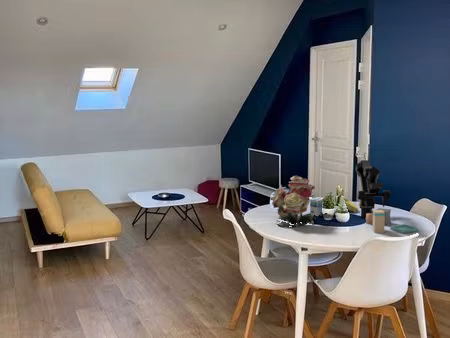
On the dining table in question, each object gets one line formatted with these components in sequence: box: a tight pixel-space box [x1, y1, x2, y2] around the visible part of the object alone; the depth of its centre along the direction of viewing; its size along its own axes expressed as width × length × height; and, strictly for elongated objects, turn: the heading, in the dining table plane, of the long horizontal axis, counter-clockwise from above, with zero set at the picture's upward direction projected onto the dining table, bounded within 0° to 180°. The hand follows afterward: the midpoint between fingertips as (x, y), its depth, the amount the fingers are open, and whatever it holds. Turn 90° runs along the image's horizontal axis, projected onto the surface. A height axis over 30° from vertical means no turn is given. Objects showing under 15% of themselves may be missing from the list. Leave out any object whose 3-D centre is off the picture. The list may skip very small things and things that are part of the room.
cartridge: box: [365, 213, 373, 225], centre depth 309 cm, size 4×4×6 cm
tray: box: [389, 223, 420, 234], centre depth 292 cm, size 11×11×2 cm
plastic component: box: [343, 197, 358, 213], centre depth 349 cm, size 20×7×10 cm
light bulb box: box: [309, 196, 324, 217], centre depth 335 cm, size 11×7×11 cm, turn 131°
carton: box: [371, 209, 385, 234], centre depth 290 cm, size 6×6×12 cm
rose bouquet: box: [269, 175, 316, 228], centre depth 312 cm, size 26×29×30 cm
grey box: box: [375, 207, 392, 226], centre depth 309 cm, size 8×9×8 cm
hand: (375, 206), depth 296 cm, fingers open, 9 cm apart
